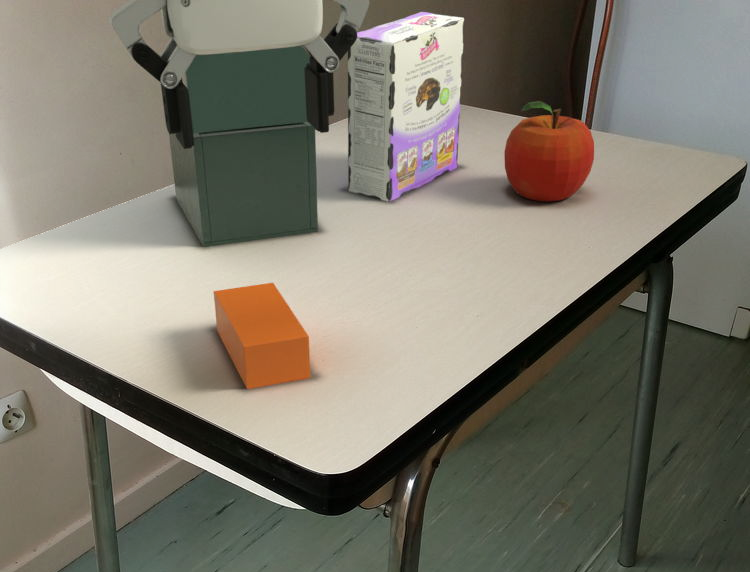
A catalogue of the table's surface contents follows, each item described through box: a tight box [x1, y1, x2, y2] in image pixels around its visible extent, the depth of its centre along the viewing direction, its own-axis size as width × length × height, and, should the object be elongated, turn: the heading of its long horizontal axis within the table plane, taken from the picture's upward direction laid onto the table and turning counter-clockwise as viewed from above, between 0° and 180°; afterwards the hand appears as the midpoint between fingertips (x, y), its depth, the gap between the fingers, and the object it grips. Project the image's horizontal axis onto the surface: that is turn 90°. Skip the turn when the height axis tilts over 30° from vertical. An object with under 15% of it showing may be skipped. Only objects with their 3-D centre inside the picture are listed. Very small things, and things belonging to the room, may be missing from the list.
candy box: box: [347, 11, 465, 202], centre depth 108 cm, size 14×6×16 cm, turn 144°
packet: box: [213, 282, 311, 390], centre depth 79 cm, size 5×10×4 cm, turn 20°
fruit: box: [503, 100, 595, 203], centre depth 107 cm, size 10×10×10 cm
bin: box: [168, 122, 319, 248], centre depth 101 cm, size 14×12×11 cm
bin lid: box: [184, 46, 310, 133], centre depth 87 cm, size 14×12×5 cm
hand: (252, 135), depth 71 cm, fingers open, 9 cm apart
